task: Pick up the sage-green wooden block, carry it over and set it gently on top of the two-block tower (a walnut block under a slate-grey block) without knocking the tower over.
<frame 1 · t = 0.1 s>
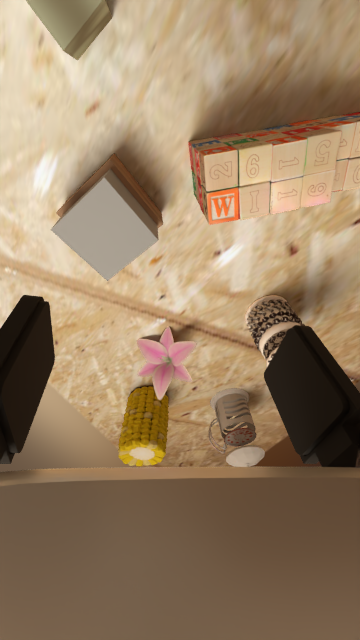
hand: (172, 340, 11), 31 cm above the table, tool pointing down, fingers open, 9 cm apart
lily: (164, 342, 53), on the table
french press: (226, 400, 67), on the table
tower top: (111, 220, 33), point 5 cm above the table, touching tower base
sage block: (74, 9, 26), on the table
decorative candle: (266, 313, 51), on the table
stack of blocks: (271, 154, 35), on the table
tower base: (115, 207, 37), on the table, touching tower top
food: (145, 396, 63), on the table
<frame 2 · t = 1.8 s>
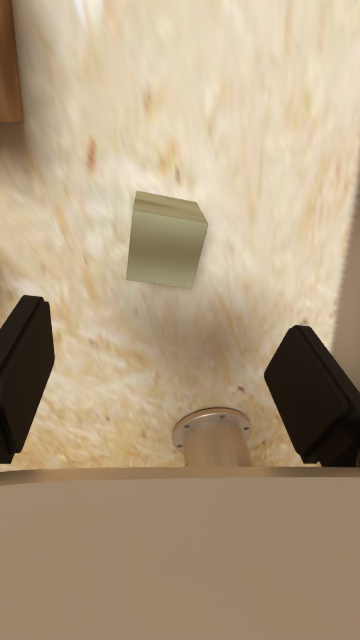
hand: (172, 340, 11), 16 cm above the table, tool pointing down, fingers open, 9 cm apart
sage block: (162, 226, 24), on the table
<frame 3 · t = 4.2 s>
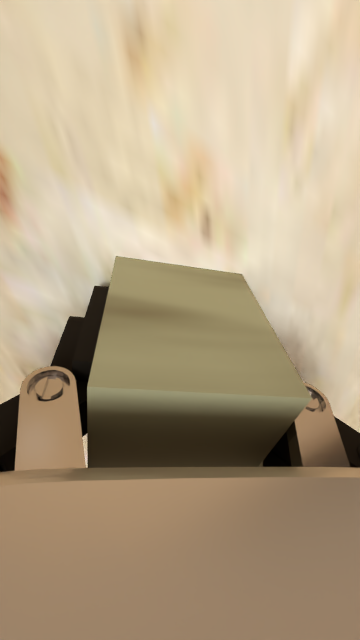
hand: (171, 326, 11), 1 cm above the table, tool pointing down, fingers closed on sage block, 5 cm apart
sage block: (170, 316, 12), on the table, touching gripper
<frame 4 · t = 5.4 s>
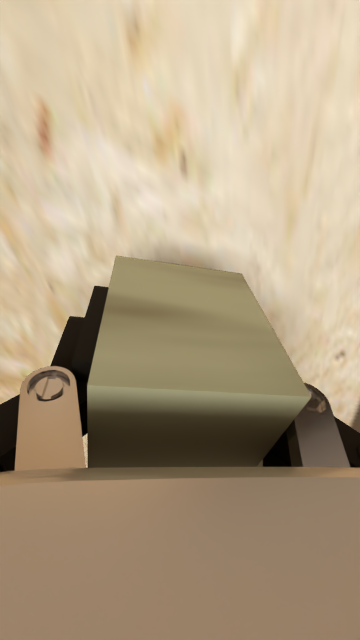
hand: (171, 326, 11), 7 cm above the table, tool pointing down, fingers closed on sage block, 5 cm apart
sage block: (170, 316, 12), point 6 cm above the table, touching gripper
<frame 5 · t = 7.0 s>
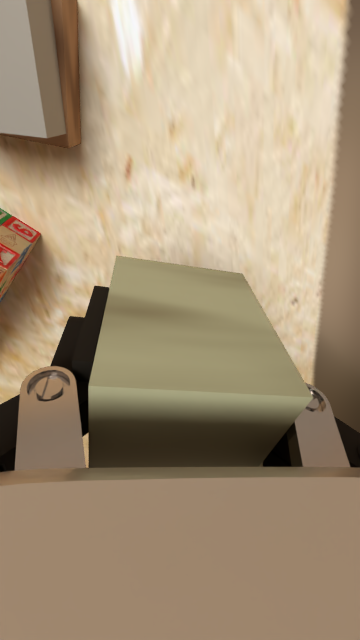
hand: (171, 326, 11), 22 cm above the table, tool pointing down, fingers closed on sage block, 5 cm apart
sage block: (171, 316, 12), point 21 cm above the table, touching gripper
tower base: (21, 66, 22), on the table, touching tower top
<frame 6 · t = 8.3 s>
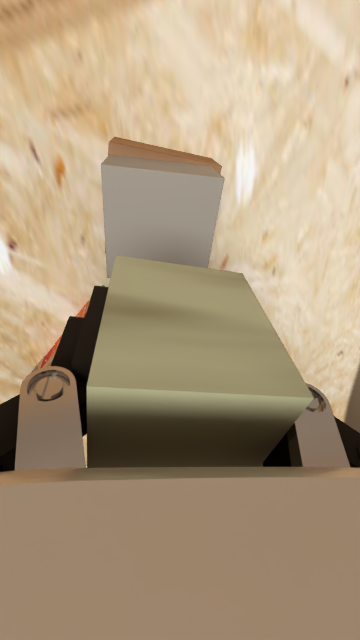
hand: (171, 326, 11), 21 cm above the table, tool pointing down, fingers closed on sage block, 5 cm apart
tower top: (158, 212, 24), point 5 cm above the table, touching tower base
sage block: (170, 316, 12), point 20 cm above the table, touching gripper
stack of blocks: (80, 344, 39), on the table
tower base: (157, 198, 28), on the table, touching tower top
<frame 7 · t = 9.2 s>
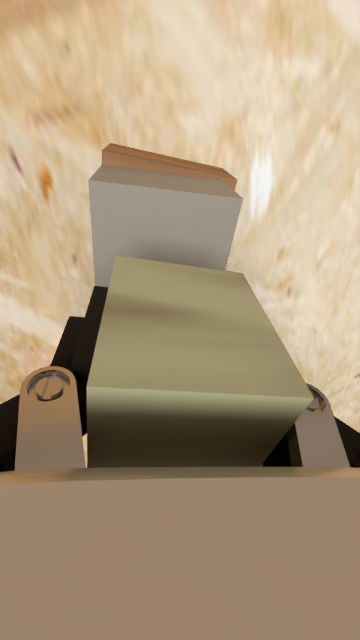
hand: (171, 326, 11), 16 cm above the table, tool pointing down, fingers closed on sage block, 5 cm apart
tower top: (159, 232, 20), point 5 cm above the table, touching tower base
sage block: (170, 316, 12), point 15 cm above the table, touching gripper
tower base: (159, 213, 24), on the table, touching tower top
when the fingers open (11 cm above the table, at t = 11.0 s): sage block moves 1 cm, resting on tower top.
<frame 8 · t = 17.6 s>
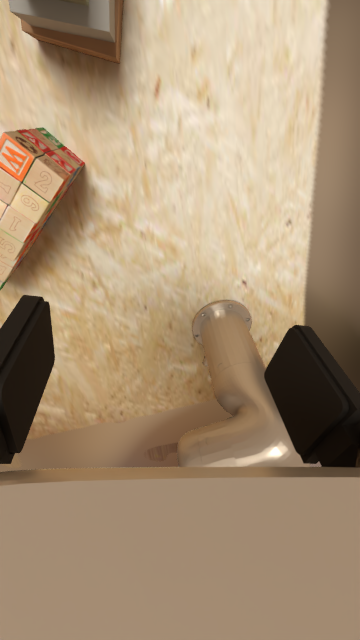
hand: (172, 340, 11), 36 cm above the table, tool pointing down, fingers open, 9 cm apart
stack of blocks: (29, 206, 41), on the table
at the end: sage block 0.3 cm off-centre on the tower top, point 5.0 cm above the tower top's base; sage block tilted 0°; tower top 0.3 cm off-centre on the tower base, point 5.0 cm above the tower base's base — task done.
